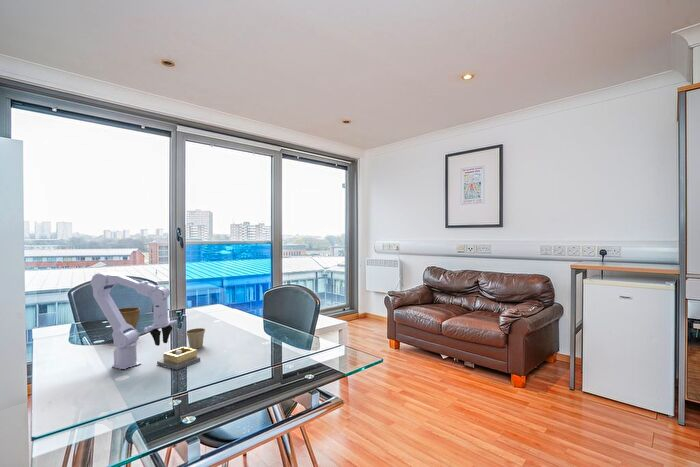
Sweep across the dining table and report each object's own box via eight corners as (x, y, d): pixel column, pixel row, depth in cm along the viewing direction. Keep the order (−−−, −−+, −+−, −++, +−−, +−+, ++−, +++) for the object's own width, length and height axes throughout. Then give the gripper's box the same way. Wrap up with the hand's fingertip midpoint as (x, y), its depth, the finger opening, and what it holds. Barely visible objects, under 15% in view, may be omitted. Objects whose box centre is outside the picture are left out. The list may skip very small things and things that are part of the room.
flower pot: (184, 351, 174) (184, 334, 174) (187, 345, 183) (187, 329, 183) (204, 349, 177) (204, 332, 177) (206, 343, 186) (206, 327, 186)
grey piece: (157, 364, 157) (156, 352, 157) (181, 356, 167) (180, 344, 167) (176, 370, 150) (176, 357, 150) (200, 360, 160) (199, 349, 160)
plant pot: (129, 341, 192) (129, 312, 192) (103, 341, 192) (102, 313, 192) (146, 333, 207) (145, 306, 207) (121, 333, 207) (121, 307, 207)
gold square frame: (163, 360, 157) (163, 353, 157) (183, 353, 166) (183, 346, 166) (177, 364, 152) (177, 356, 152) (197, 357, 161) (196, 349, 161)
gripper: (150, 318, 148) (150, 350, 148) (180, 311, 161) (181, 340, 161) (140, 317, 152) (141, 347, 152) (171, 310, 164) (172, 338, 164)
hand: (161, 344), depth 157 cm, fingers open, 3 cm apart
